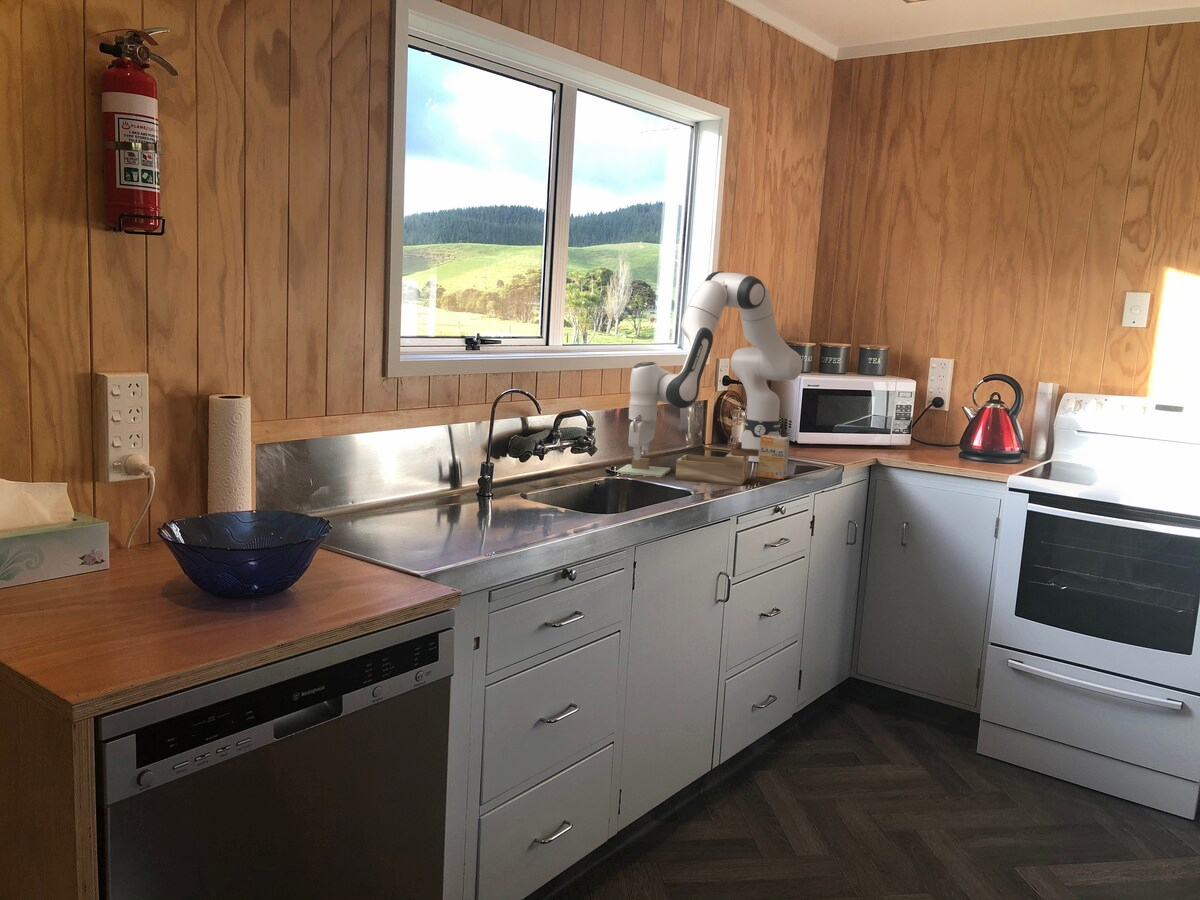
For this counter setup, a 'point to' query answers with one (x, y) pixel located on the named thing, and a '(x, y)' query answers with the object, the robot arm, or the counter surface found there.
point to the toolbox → (713, 469)
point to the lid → (643, 468)
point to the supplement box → (773, 457)
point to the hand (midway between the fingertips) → (640, 457)
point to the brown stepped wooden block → (744, 450)
